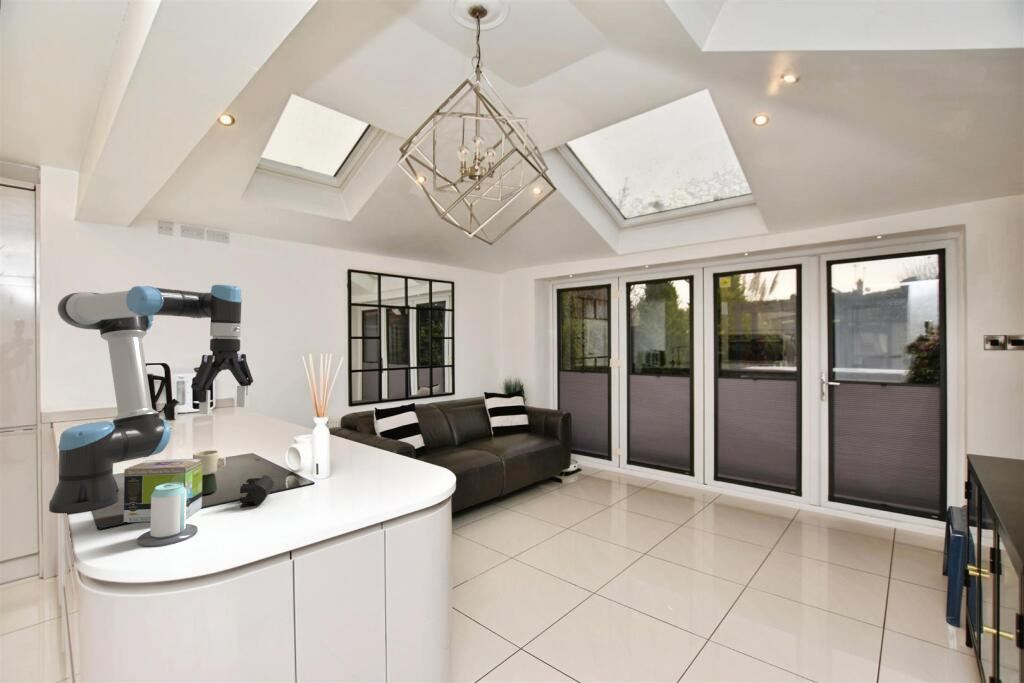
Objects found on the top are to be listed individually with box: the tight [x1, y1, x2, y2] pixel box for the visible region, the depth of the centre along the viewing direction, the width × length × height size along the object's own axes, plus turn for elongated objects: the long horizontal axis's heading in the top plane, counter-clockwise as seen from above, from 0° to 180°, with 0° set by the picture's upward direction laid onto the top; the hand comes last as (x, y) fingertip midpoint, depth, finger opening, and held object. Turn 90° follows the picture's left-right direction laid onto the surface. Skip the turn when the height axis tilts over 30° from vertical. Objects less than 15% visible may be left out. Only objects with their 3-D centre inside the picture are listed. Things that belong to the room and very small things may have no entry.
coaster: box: [136, 523, 198, 548], centre depth 113 cm, size 12×12×1 cm
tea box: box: [123, 458, 203, 523], centre depth 126 cm, size 15×10×15 cm, turn 100°
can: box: [149, 483, 187, 538], centre depth 113 cm, size 7×7×12 cm
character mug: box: [192, 449, 226, 495], centre depth 144 cm, size 11×7×13 cm, turn 109°
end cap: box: [239, 475, 275, 509], centre depth 138 cm, size 10×7×7 cm
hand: (223, 410), depth 132 cm, fingers open, 13 cm apart
